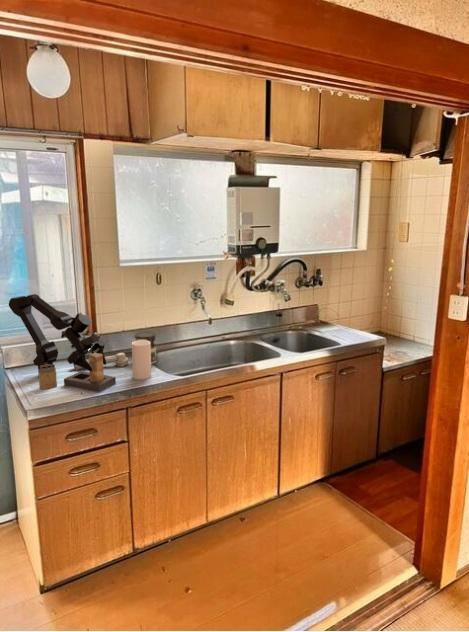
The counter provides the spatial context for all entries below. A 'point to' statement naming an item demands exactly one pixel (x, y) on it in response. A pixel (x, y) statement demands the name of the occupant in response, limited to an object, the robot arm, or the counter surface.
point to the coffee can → (150, 337)
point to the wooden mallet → (111, 360)
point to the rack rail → (89, 382)
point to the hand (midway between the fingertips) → (99, 367)
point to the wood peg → (96, 367)
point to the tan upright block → (47, 377)
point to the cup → (141, 359)
